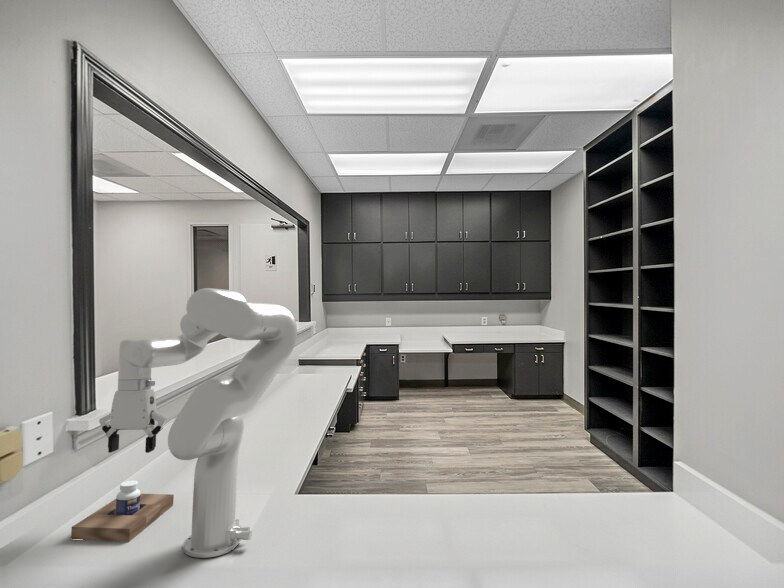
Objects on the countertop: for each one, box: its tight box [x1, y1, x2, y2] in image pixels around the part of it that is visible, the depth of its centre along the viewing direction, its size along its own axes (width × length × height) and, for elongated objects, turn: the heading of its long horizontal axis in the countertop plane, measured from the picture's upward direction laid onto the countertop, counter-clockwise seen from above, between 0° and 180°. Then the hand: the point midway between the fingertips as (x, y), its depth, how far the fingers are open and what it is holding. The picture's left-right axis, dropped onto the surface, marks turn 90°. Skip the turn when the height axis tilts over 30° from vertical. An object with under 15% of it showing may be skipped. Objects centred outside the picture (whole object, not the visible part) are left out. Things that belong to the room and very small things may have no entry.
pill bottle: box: [115, 480, 141, 515], centre depth 112 cm, size 5×5×10 cm
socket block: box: [70, 493, 175, 543], centre depth 112 cm, size 14×20×3 cm
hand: (131, 451), depth 113 cm, fingers open, 9 cm apart
